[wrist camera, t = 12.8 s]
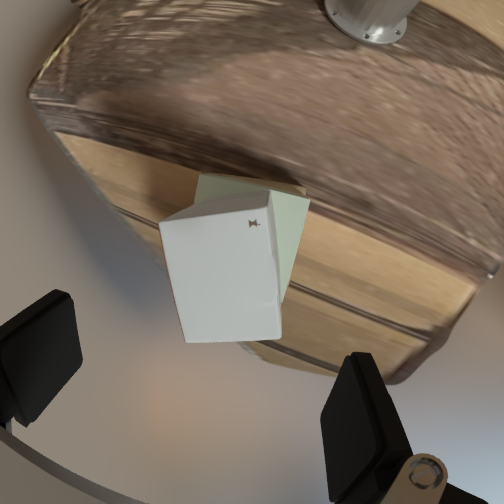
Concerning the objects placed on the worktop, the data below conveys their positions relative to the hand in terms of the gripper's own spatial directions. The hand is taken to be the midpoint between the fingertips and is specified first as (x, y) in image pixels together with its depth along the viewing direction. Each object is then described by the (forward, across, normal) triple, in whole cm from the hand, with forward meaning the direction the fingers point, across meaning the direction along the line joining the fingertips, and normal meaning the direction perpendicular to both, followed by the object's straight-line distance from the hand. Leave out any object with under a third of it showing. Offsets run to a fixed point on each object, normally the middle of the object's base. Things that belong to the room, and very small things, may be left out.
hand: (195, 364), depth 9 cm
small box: (+21, +1, +1) cm, 21 cm away
